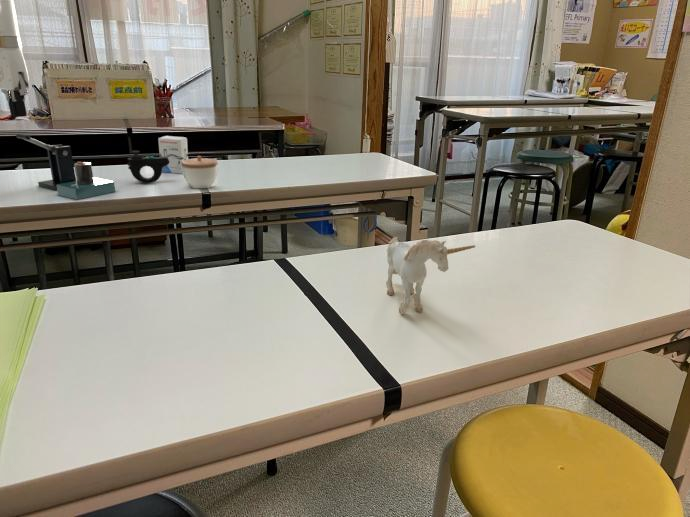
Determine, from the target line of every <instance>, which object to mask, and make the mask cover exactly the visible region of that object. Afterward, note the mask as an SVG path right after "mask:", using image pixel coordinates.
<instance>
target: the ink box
mask: <svg viewBox="0 0 690 517" xmlns="http://www.w3.org/2000/svg"><path fill="white" fill-rule="evenodd" d="M157 141H158V152H159V157H168V159H169V161H170V162H169V164H168V165H166V166H164V167H163V168H162V173H171V174H180V175H181V174H182V175H183V170H182V164H181V162H182V161H183V160H187V159H189V151H188V150H189V149H188V138H187V137H184V136H173V135H164V136H161V137H158V139H157Z"/></svg>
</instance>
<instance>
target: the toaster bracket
mask: <svg viewBox="0 0 690 517" xmlns="http://www.w3.org/2000/svg"><path fill="white" fill-rule="evenodd" d="M50 146H51V147H53V148H54V146H56V147H55V148H54V149H55V155H53V154H52V152H53V151H51V150H48V149H46V151H47V158H48V162H49V168H50V173H51V178H52V179H49V180H48V179H47V180H42V181H38V182H37V184H38V187H41V188H43V189H48V190H52V191H56V192H58V191H57V184H63V183H68V182H73V181H76V174H75V168H74V160H73V153H72V147H71V145H63V144H52V145H50Z"/></svg>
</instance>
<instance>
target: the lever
mask: <svg viewBox="0 0 690 517" xmlns="http://www.w3.org/2000/svg"><path fill="white" fill-rule="evenodd" d="M15 136H16V137H15V138H17V139H21V140H24V141H27V142H29V143H31V144H34V145H35V146H38V147H41V148H44V149H46V150H47V149H48V150H51V151H53V152H52V154H53V155H55V149H54V148H55V147H56V146H54V148H53V147H51V146H52V145H50V144H46V143H44V142H42V141H39V140H37V139H35V138H32V137H31V136H30V135H28V134H22V133H16V135H15Z"/></svg>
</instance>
